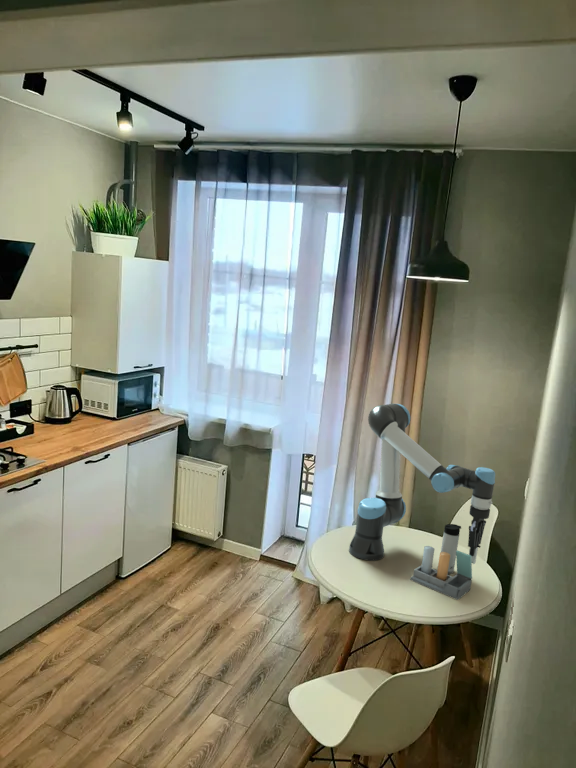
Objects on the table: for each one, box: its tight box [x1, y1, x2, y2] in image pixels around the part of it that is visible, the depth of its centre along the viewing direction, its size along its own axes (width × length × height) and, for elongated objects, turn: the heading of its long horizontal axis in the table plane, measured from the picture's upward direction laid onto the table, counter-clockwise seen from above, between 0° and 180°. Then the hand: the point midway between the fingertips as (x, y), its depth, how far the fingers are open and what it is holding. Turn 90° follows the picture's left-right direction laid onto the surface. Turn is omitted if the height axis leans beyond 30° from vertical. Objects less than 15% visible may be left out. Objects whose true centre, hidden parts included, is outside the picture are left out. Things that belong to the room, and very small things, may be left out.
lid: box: [456, 550, 473, 580], centre depth 224 cm, size 6×12×1 cm
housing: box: [409, 564, 473, 601], centre depth 226 cm, size 20×12×4 cm, turn 50°
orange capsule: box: [436, 551, 450, 581], centre depth 225 cm, size 4×4×12 cm
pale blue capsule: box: [421, 545, 435, 575], centre depth 230 cm, size 4×4×12 cm
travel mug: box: [440, 523, 462, 575], centre depth 238 cm, size 6×7×20 cm
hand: (471, 562), depth 231 cm, fingers closed
